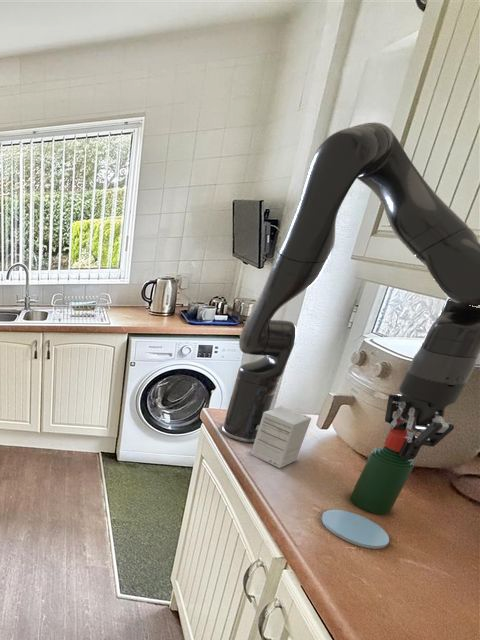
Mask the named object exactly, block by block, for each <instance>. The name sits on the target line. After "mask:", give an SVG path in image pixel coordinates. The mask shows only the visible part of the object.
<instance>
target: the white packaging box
mask: <svg viewBox="0 0 480 640" xmlns="http://www.w3.org/2000/svg"><path fill="white" fill-rule="evenodd" d="M311 420H312V417H311V416H308V415H306V414H303V413H300V412H297V411H296V410H291V409H289V408H287V407H284V406H280V405H279V406H277V407H274V408H272V409H271V408H270V410H269V411H266V412H264V413H263V416H262V419H261V423H260V426H259V429H258V432H257V435H256V439H255V442H253V446H252V448H251V452H250V454H251V455H252V456H254V457H256V458H257V459H260V460H262V461H264V462H265V463H268V464H270V465H272V466H274V467H276V468H278V469H281V468H283V467H285V466H288V465H290V464H291V463H293V462H296V461H297V459H298V456H299V453H300V450H301V449H302V445H303V443H304V440H305V437H306V434H307V431H308V429H309V427H310V424H311Z"/></svg>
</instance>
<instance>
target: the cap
mask: <svg viewBox="0 0 480 640" xmlns="http://www.w3.org/2000/svg"><path fill="white" fill-rule="evenodd" d="M390 430H391V429H390ZM390 430H389V432H390V433H389V432H388V434H389V435H388V434H387V436H388V437H387V436H386V438H387V439H386V438H385V441H384V443H385V444H384V446H386V447H387V448H389V449H391V450H393V451H396V452H400V450H401V448H402V446H403V444H404V442H405V441H407V435H408V432H409V431H408V430H407V431H405V430H400V429H392V430H391V431H390ZM418 436H419V435H417V434H416V437H418Z"/></svg>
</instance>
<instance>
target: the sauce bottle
mask: <svg viewBox="0 0 480 640" xmlns="http://www.w3.org/2000/svg"><path fill="white" fill-rule="evenodd" d="M398 454H399V452H396V451H393V450H391V449H389V448H387V447H386V446H385V445H384V446H381V447H376V448H374V449H373V450H371V451H370V454H369V456H368V457H367V460H366V461H365V464H364V466H363V468H362V470H361V473H360V475H359V477H358V479H357V481H356V483H355V486H354V488H353V490H352V492H351V494H350V501H351V502H352V503H353V504H354V505H355V506H356V507H358V508H360V509H362V510H364V511H366V512H369V513H373V514H377V515H387V514H389V513H390V512H391V511H392V509H393V507H394V505H395V503H396V501H397V499H398V497H399V496H400V494H401V492H402V490H403V488H404V487H405V485H406V483H407V481H408V479H409V477H410V475H411V473H412V471H413V469H414V467H415V461H414V459H412V460H409V459H402V458H400V457H399V456H398Z"/></svg>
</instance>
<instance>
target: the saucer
mask: <svg viewBox="0 0 480 640" xmlns="http://www.w3.org/2000/svg"><path fill="white" fill-rule="evenodd" d="M321 522H322V524H323V526H324V527H325V528H326V529H327V530H328V531H329V532H330V533H332V534H333V535H334V536H336V537H337V538H340V539H341V540H343V541H345V542H347V543H350V544H352V545H355V546H359V547H361V548H366V549H374V550H380V549H384V548H386V547H387V546H388V545H389V543H390V537H389V534H388V533H387V531H386V530H384V529H383V528H382V527H381V526H380V525H379V524H377V523H375V522H374V521H373V520H371V519H369V518H367V517H364V516H363V515H360V514H357V513H354V512H351V511H349V510H348V511H347V510H343V509H328V510H326V511H324V512H323V513H322V515H321Z"/></svg>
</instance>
